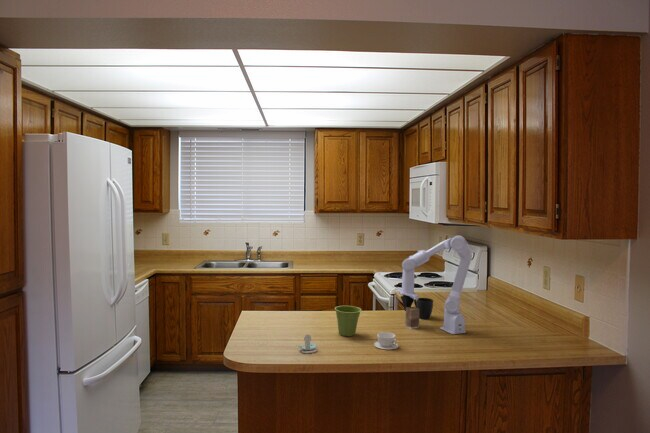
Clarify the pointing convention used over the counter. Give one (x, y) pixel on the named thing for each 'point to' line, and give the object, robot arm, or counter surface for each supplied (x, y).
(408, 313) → the walnut block
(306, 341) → the pacifier
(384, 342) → the teacup
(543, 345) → the counter surface
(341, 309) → the plant pot
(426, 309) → the mug
